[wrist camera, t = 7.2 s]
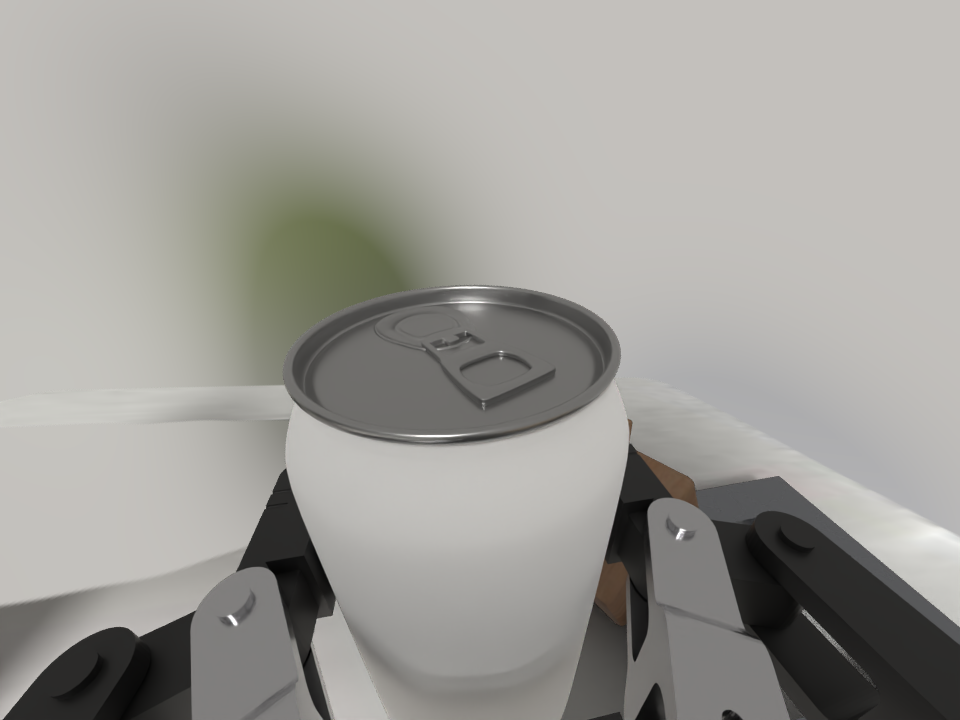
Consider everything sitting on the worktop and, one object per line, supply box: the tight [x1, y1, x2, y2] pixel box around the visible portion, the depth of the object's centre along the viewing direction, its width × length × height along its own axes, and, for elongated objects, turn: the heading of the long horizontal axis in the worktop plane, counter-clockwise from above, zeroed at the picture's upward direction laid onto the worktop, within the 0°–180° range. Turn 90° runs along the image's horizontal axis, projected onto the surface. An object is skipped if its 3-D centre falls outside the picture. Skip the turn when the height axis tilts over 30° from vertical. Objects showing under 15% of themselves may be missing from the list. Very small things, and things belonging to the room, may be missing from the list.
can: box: [283, 285, 629, 720], centre depth 9 cm, size 6×6×12 cm
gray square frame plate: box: [696, 476, 960, 720], centre depth 18 cm, size 14×13×2 cm
